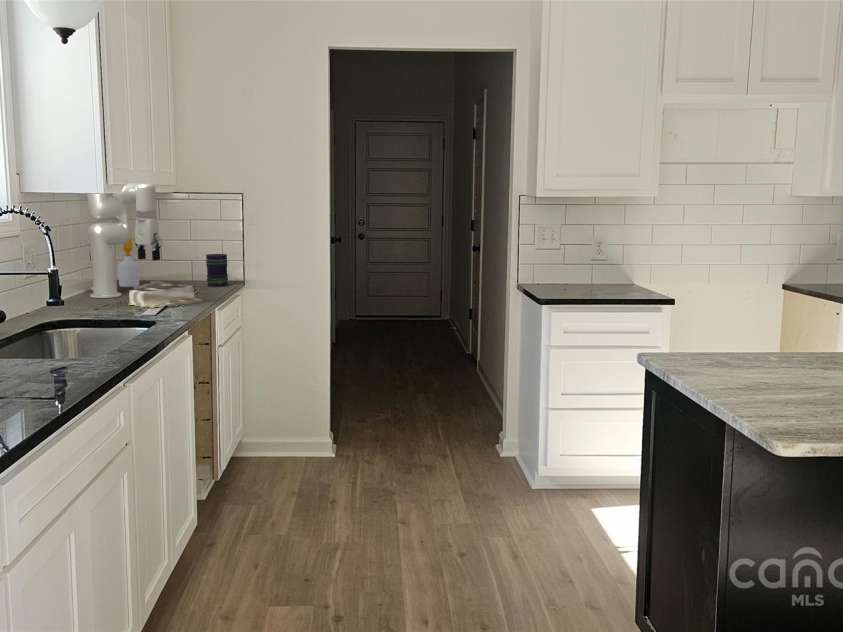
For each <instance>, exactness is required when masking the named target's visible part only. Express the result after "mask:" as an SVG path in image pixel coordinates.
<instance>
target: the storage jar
mask: <svg viewBox="0 0 843 632" xmlns="http://www.w3.org/2000/svg"><path fill="white" fill-rule="evenodd" d="M205 257H206V259H205V263H206V269H207V270H206V273H207V275H206V283H207V287H209V288H223V287H224V288H225V287H228V286H229V284H228V283H229V274H228V266H229V265H228V254H226V253H209V254H205Z"/></svg>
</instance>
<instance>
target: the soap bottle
mask: <svg viewBox="0 0 843 632" xmlns="http://www.w3.org/2000/svg"><path fill="white" fill-rule="evenodd" d="M122 247H123V248H122V251H124V253H125V254H124V256H123V258H124V259H123V260H122V261H121V262H120V263H119V264H118V265H117V266H118V282H119V283H118V286H119V287H121V288H133V286H140V269H139V267H140V266H139V264H138V263H137V262H136V261H134V260H133V257H132V254H131V253H130V252H132V250H133V236H132V235H131V238H130V241H129V242H128V243H126V244H122Z"/></svg>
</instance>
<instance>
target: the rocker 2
mask: <svg viewBox="0 0 843 632" xmlns="http://www.w3.org/2000/svg"><path fill="white" fill-rule="evenodd" d="M167 283H168V284H172V285H173V286H175V285H183V284H184V285H185V284H190V279H183V280H177V281H172V282H167Z"/></svg>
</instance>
